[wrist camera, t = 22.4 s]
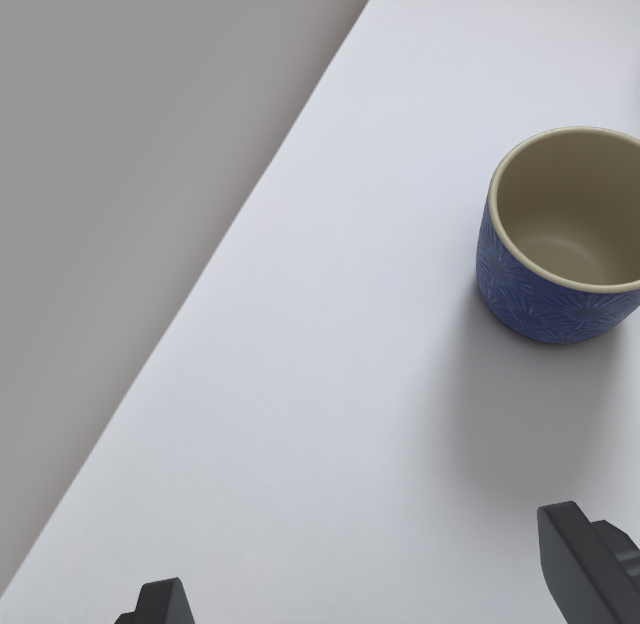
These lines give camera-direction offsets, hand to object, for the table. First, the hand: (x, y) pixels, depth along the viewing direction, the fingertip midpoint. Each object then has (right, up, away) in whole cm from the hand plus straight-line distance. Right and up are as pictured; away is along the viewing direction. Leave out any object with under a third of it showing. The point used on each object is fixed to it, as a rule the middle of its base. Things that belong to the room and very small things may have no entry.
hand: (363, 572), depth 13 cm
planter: (+17, +8, +34) cm, 39 cm away
